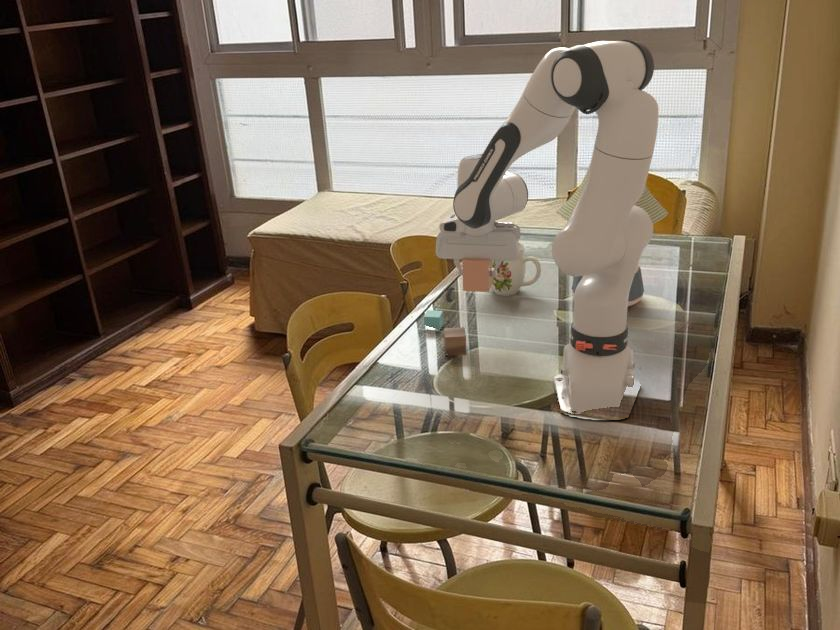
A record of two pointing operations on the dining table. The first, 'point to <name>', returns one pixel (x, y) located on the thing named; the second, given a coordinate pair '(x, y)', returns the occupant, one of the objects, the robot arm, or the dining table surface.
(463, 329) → the walnut block
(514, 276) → the pitcher
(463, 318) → the dining table surface
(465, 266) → the salmon pink cube
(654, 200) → the desk lamp
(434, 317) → the cube
